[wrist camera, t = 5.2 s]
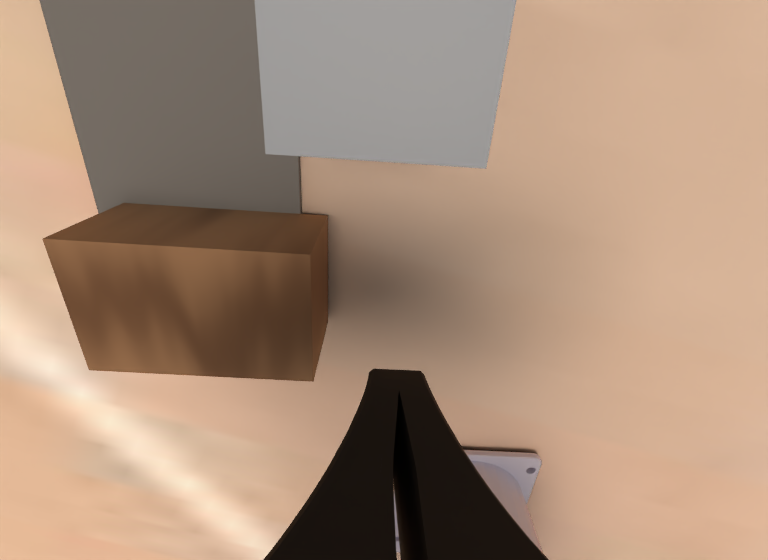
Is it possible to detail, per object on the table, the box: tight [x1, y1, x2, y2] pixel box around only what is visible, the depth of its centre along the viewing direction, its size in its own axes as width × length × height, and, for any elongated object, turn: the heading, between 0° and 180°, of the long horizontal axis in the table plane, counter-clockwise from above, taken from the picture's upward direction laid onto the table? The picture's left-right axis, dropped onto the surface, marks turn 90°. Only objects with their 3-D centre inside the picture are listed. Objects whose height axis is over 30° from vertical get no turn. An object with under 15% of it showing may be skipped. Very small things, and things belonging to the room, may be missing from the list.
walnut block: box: [43, 203, 328, 381], centre depth 15 cm, size 5×4×8 cm
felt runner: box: [40, 0, 302, 214], centre depth 14 cm, size 18×8×1 cm, turn 176°
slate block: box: [255, 0, 516, 169], centre depth 9 cm, size 5×4×8 cm
